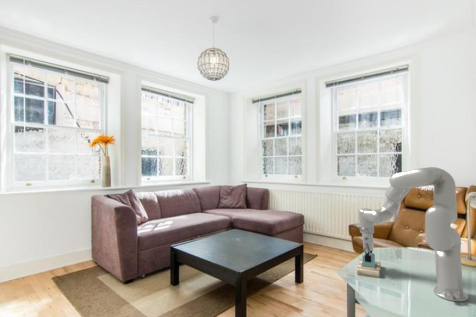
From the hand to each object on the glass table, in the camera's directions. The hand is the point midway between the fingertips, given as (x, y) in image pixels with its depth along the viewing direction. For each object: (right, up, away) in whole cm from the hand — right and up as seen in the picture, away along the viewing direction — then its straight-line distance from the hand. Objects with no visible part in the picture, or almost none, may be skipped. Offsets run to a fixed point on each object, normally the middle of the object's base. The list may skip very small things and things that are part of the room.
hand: (368, 259), depth 154 cm
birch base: (0, -7, 0) cm, 7 cm away
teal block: (0, -3, 0) cm, 3 cm away
